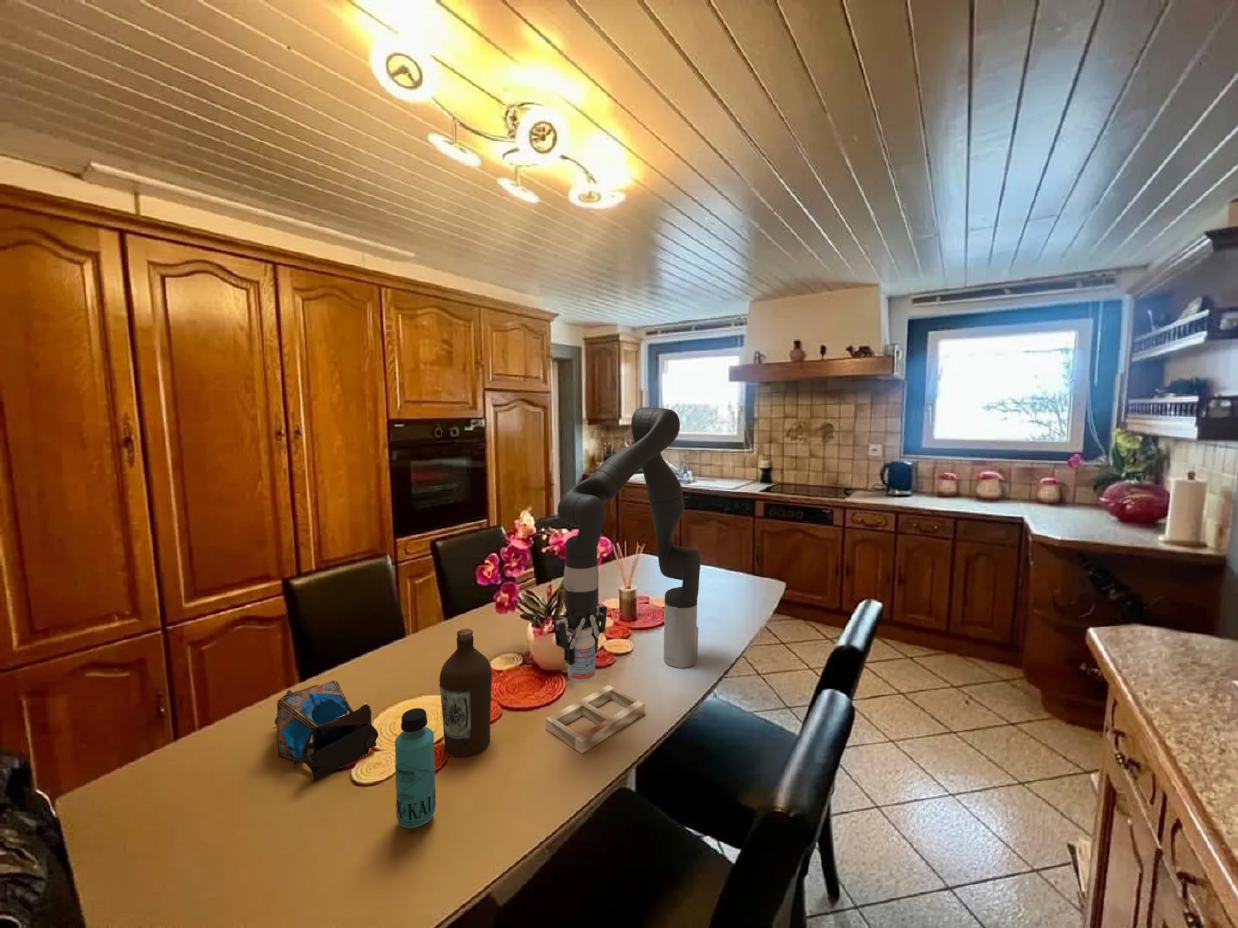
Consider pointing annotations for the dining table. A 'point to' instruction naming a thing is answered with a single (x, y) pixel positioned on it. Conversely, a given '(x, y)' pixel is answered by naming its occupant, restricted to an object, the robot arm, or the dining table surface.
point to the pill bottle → (583, 657)
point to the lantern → (322, 729)
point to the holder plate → (594, 718)
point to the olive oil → (466, 698)
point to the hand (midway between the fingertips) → (581, 658)
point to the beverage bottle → (415, 770)
